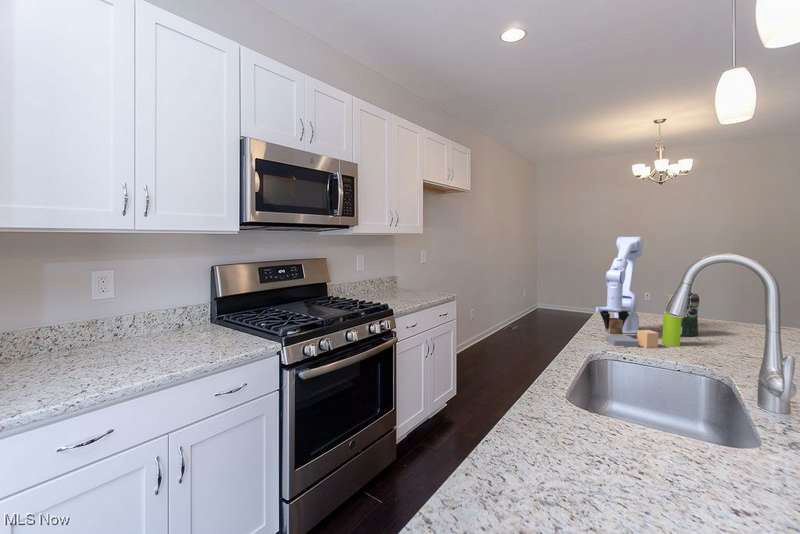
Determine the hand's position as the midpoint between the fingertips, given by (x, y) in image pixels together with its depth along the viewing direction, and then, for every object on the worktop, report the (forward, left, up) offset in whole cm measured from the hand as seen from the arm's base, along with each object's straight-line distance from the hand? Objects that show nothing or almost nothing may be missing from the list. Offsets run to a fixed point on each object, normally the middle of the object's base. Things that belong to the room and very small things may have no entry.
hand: (613, 328), depth 166 cm
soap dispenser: (-19, +8, -4) cm, 21 cm away
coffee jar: (-33, -8, -4) cm, 34 cm away
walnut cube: (0, 0, -2) cm, 2 cm away
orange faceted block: (-8, +12, -4) cm, 15 cm away
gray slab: (+1, +10, -5) cm, 11 cm away
